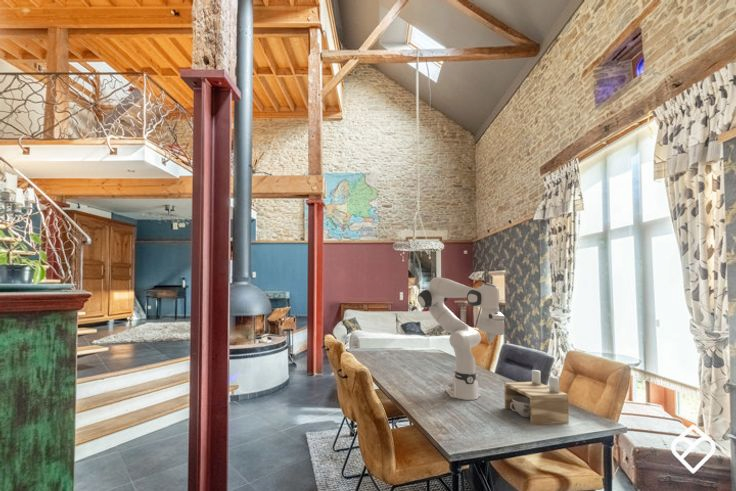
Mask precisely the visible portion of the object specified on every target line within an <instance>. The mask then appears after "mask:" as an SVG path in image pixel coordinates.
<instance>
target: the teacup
mask: <svg viewBox="0 0 736 491" xmlns="http://www.w3.org/2000/svg"><path fill="white" fill-rule="evenodd" d="M512 400H513V402H511V404H510V408H511V409H510V410H511V411H513V412H516V413H517V414H519V416H521V417H523V418H531V417H530V398H528V397H523V396H517V397H513V398H512ZM512 405H514V407H515V409H512Z"/></svg>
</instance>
